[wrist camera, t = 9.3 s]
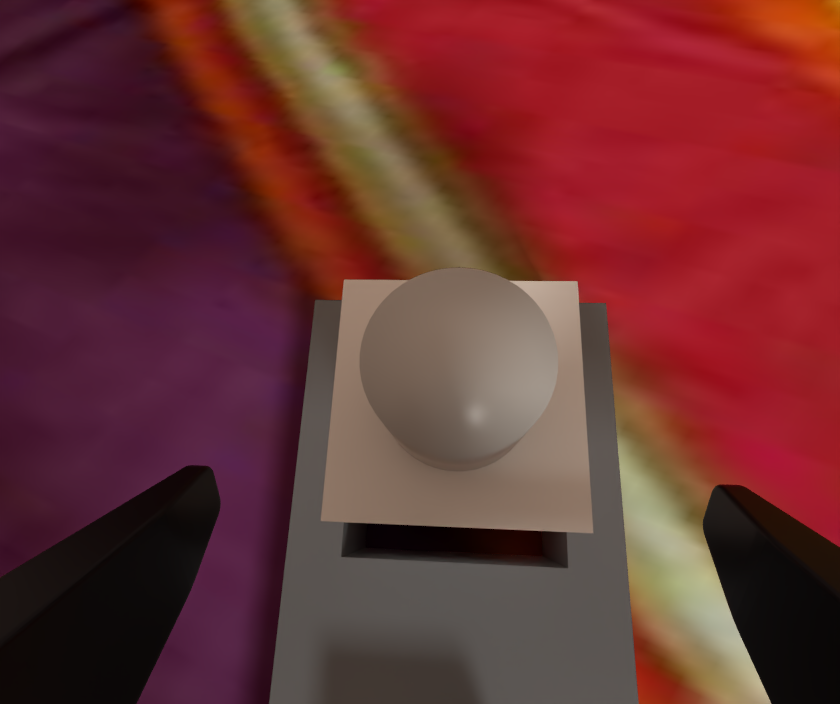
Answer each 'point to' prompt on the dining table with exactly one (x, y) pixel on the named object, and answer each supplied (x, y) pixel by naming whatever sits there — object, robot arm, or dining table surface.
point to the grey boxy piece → (454, 584)
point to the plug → (459, 405)
